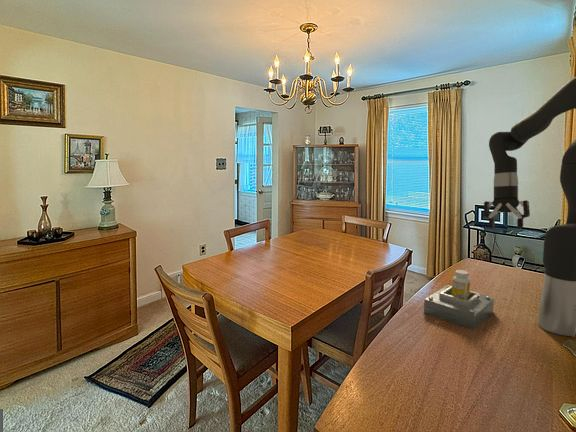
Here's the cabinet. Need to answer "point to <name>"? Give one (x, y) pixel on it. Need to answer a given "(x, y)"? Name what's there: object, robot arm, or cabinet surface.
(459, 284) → the supplement bottle
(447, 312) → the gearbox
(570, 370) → the cabinet surface
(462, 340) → the cabinet surface
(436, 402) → the cabinet surface
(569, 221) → the robot arm
